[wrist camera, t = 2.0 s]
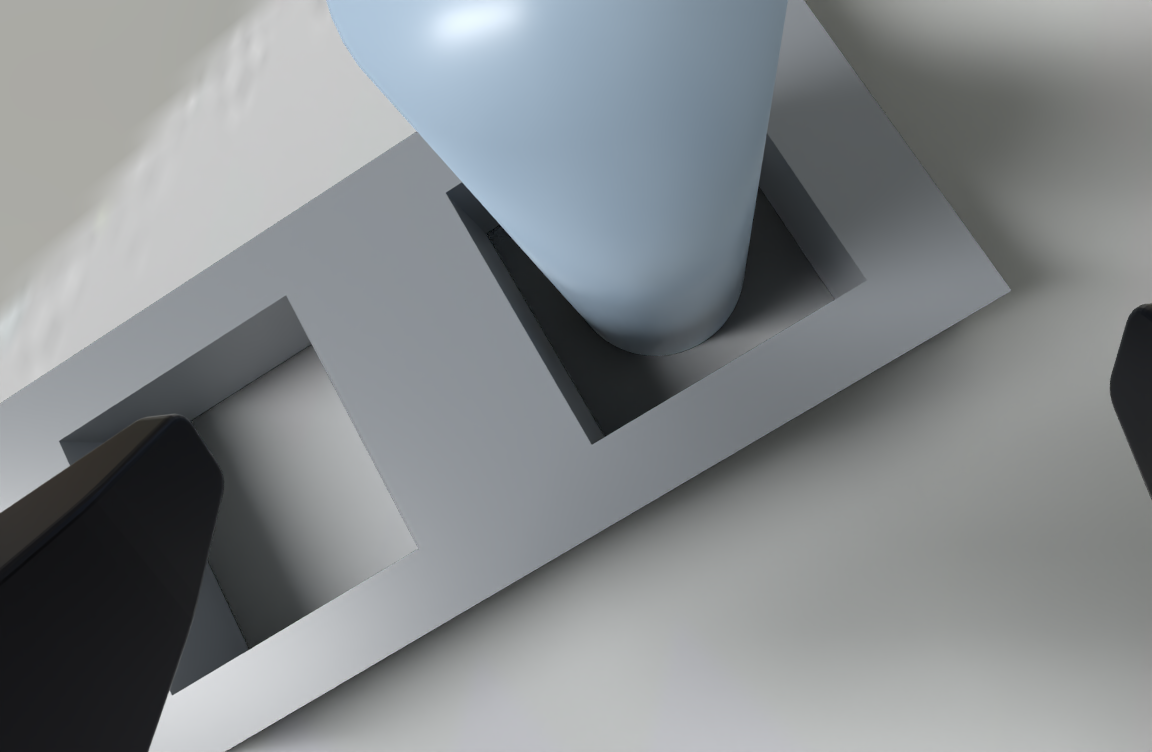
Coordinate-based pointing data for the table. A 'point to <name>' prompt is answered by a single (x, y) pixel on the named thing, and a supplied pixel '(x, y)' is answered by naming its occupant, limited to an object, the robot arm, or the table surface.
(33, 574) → the robot arm
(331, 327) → the panel
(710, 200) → the plug
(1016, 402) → the table surface
